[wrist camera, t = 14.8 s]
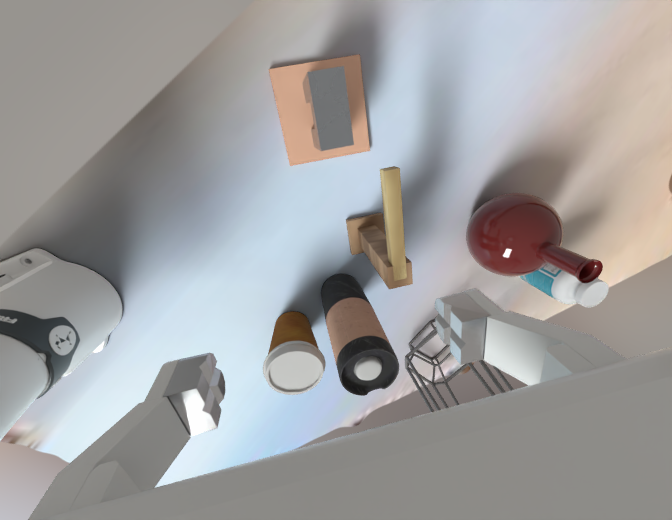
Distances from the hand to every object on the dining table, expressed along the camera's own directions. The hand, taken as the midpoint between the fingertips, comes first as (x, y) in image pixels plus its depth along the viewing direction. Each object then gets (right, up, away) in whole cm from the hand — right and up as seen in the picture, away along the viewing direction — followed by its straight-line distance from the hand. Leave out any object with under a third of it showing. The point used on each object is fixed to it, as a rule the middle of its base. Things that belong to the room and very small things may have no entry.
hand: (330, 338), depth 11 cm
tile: (-2, +23, +30) cm, 38 cm away
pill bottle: (+38, +3, +47) cm, 61 cm away
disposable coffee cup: (-8, -9, +44) cm, 46 cm away
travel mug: (+1, -3, +43) cm, 43 cm away
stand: (+4, +12, +37) cm, 39 cm away
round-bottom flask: (+27, +10, +42) cm, 51 cm away
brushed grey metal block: (-2, +23, +30) cm, 38 cm away
